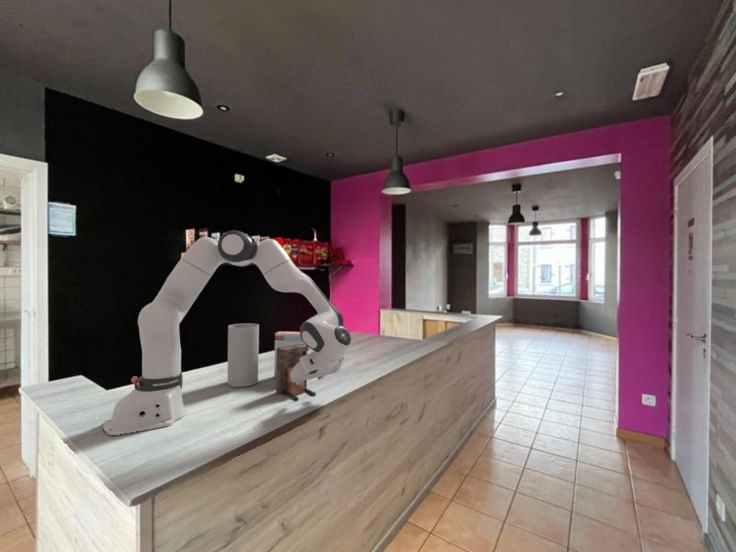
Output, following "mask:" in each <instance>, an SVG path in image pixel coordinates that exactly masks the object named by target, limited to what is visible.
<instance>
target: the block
mask: <svg viewBox="0 0 736 552" xmlns="http://www.w3.org/2000/svg"><path fill="white" fill-rule="evenodd" d="M293 368H294V366H293V367H288V368H287V391H288V392H289V393H291V394H293V395H295V396H297V395H300V394H304V393H305V391H304V381H302V384H300V385H297V383H293V382H292V380H291V377H290V372H291V371H292V369H293Z"/></svg>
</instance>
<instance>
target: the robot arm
mask: <svg viewBox="0 0 736 552" xmlns="http://www.w3.org/2000/svg"><path fill="white" fill-rule="evenodd" d="M222 264H227V265H232V266H235V267H238V268H240V267H241V268H244V267H248V266H251V265H252V264H255V266H256V267H257V268H258V269H259V270H260V272H261V273H262V275H263V277H264V279H265V280H266V283H268V285H269V286H270V287H271V289H273V290H275V291H276V292H277V291H278V292H281V293H298V294H301V295H303V297H305V298H306V299H307V300H308V302H309V303H310V305H312V307H313V308H314V309H315V311H316V312H317V314H315V315H314V316H311V317H309V319H307V320H306V321H304V322H302V324H301V325H300V327H299V332H300V336H301V339H302V341H303V342H304V343H305V344H306V345H307V346H308V349H309V348H310V349H311V350H312V352H310V353H308V354H307V355H305V356H302V357H301V358H300V359H299V360H300V362H299V363H297V364H296V365H295V366H294V368H293V369H292V371H291V372H290V377H291V380H292V382H293V383H297V385H300V384H302V381H304V380H307V381H309V380H312V379H317V380H318V381H320V380H323V379H324V378H325V377H327V376H329V375H333V374H336V373H338V372H339V371H340V369H341V368H342V365H343V362H344V361H345V356H344V355H345V354H346V353H347V351H348V350H349V348H350V346H351V343H352V337H351V333H350V331H349V330H348V329H347V328H346V327H344V321H345V320H344V316H343V315H342V313H341V312H340V310H339V309H338V308H336V306H334V305H333V303H331V301H330V300H329V299H328V298H327V296H326V295H325V294H324V292H323V291H322V290H321V289H320V287H318V285H317V284H316V283H315V282H314V280H313V279H312V277H310V276H309V275H308V274H306V273H304V272H303V271H301V270H300V269H299V268H298V267H297V266H296V264H294V262H293V260H292V259H291V257H290V256H289V254H288V253H287V252H286V250H285V248H283V247H282V245H281V244H280V243H279V242H278V241H277V240H275V239H273V238H265V239H263V240H261V241H259V242H257V240H256V238H253V237H251V236H250V235H247V233H244V232H242V231H239V230H229V231H225V232H224V233H222V235H221V236H219V239H218V240H217V239H215V238H213V237H210V236H209V237H208V236H202V237H199V238H198V239H197V240H196V241H195V242H194V243H193V244H192V245H191V246H190V247H189V248H188V249H187V250H186V252H185V253H184V254H183V255H182V256H181V258H180V260H179V261H178V262H177V264H176V265H175V266H174V268H173V270H171V272H170V274H169V275H168V276H167V277H166V279H165V281H164V283H163V285H162V286H161V289H160V290H159V291H158V293H157V295H156V296H155V298H154V300H152V302H150V303H147V305H145V306H144V307H142V308H141V310H140V312H139V315H138V316H137V317H138V318H137V325H138V328H139V329H138V331H139V340H140V346H141V353H142V354H141V356H142V357H141V358H142V359H141V364H142V365H141V366H142V367H141V370H142V371H141V373H142V374H141V375H140V376H139V377H138V376H136V375H135V376H132V378H131V379H130V381H131V383H132V384H133V385H134V389H133V390H132V391H130V392H129V393H128V394H126V395H125V396H124V397H123V398H121V399H120V400H118V401H117V402H116V404H115V406H114V409H113V411H112V416H110V417H108V418H107V419H105V420H104V421H103V426H102V430H103V429H104V430H103V432H104V431H105V432H106V433H107V434H106V433H105V432H104V433H105V434H106V435H108V434H109V435H108V436H111V435H117V436H121V435H120V434H122V435H126V434H125V433H127V434H132V433H131V432H133V433H137V432H136V431H138V432H143V431H148V430H154V429H159V428H164V427H169V426H171V425H172V424H174V423H175V421H177V420H179V419H181V418H182V417H184V416H185V414H186V413H187V411H186V408H185V404H184V400H183V393H182V392H183V391H182V388H183V379H184V378H183V377H184V376H183V372H182V348H181V347H182V346H181V340H180V339H181V337H180V323H181V322H182V321H183V319H184V318H185V316H186V315H187V314H188V312H189V310H190V309H191V307H193V306H192V305H193V304H194V302H195V301H196V300H197V299H198V297H199V295H200V293H201V292H202V291H203V290H204V288H205V287H206V285H207V284H208V282H209V280H210V279H211V277H212V276H213V275H214V273H215V272H216V270H217V269H218V268H219V266H221V265H222Z"/></svg>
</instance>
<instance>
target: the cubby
mask: <svg viewBox="0 0 736 552" xmlns="http://www.w3.org/2000/svg"><path fill="white" fill-rule="evenodd" d="M307 351H308V352H309V347H308V346H307V345H304V344H300V345H293V346H287V347H280V348H277V379H276V386H275V389H276V391H275V392H276V393H277V394H279V395H280V396H281V395H283V394H284V395H286V396H288V397H289V398H291V399H293V400H295V401H299V397H298V396H297V395H293V394H291V393H289V392H288V391H287V368H288V367H293V366H295V365H296V364H297V363H299V362H300V360H299V359H300V358H301V357H302V356H305V355H307ZM307 381H308V380H304V393H305V392H306V393H308V394H309V395H312V397H313V396H314V397H315V396H316V395H317V393H316V392H315V391H313V390H310V389H309V388H307V387H308V386H307Z"/></svg>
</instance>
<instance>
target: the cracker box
mask: <svg viewBox="0 0 736 552" xmlns="http://www.w3.org/2000/svg"><path fill="white" fill-rule="evenodd" d="M300 344H304V345H306V344H305V343H304V342H303V341H302V339H301V336H300V331H282V330H281V331H277V332H275V333H274V379H276V380H277V348H280V347H287V346H293V345H300ZM307 354H309V350H308V351H307Z"/></svg>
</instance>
